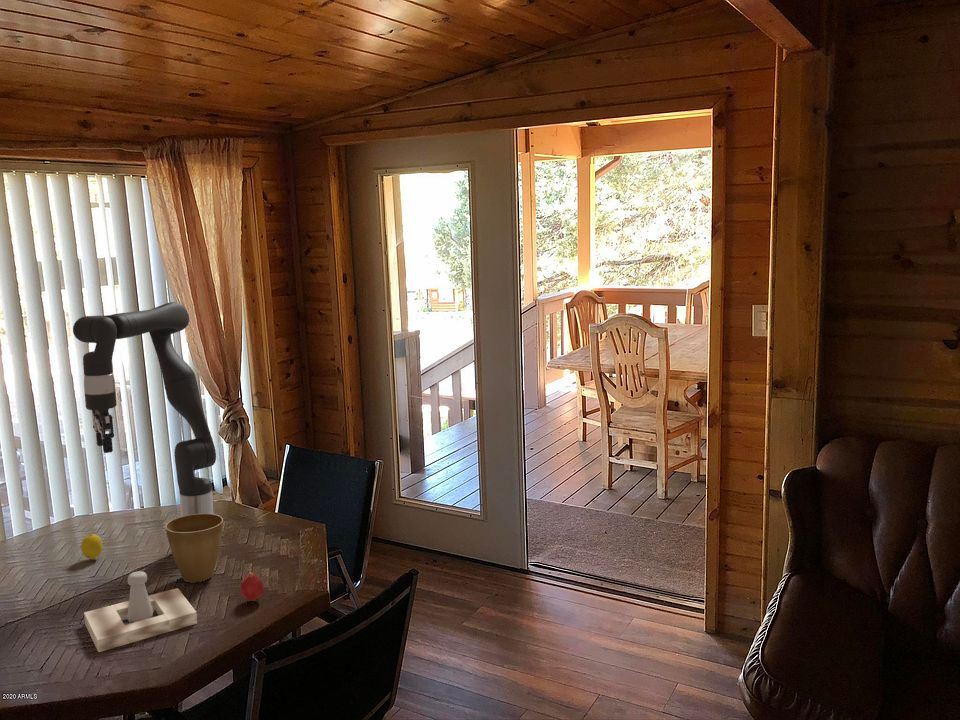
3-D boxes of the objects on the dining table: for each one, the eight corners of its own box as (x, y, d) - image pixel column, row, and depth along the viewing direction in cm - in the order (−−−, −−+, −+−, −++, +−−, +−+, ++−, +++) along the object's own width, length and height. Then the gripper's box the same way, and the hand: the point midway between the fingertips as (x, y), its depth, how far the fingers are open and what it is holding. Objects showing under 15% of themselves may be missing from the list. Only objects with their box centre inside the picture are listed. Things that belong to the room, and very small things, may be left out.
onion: (243, 596, 201) (242, 567, 199) (266, 595, 201) (264, 567, 200) (238, 607, 195) (237, 577, 194) (261, 606, 195) (260, 576, 194)
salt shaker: (159, 620, 188) (155, 570, 186) (141, 631, 183) (137, 580, 181) (140, 616, 190) (136, 567, 188) (122, 627, 185) (118, 576, 183)
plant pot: (236, 576, 212) (233, 521, 210) (184, 594, 202) (181, 537, 199) (209, 561, 223) (206, 508, 220) (159, 577, 212) (155, 522, 209)
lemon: (94, 564, 220) (92, 538, 219) (78, 562, 221) (75, 536, 220) (107, 556, 226) (105, 530, 224) (91, 555, 227) (89, 529, 225)
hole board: (178, 598, 199) (177, 587, 199) (197, 623, 187) (196, 611, 186) (85, 624, 186) (84, 612, 186) (98, 652, 174) (97, 640, 173)
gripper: (121, 393, 202) (125, 452, 205) (109, 384, 214) (113, 441, 216) (89, 396, 198) (94, 457, 200) (79, 387, 209) (84, 445, 212)
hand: (104, 448), depth 208 cm, fingers open, 8 cm apart
